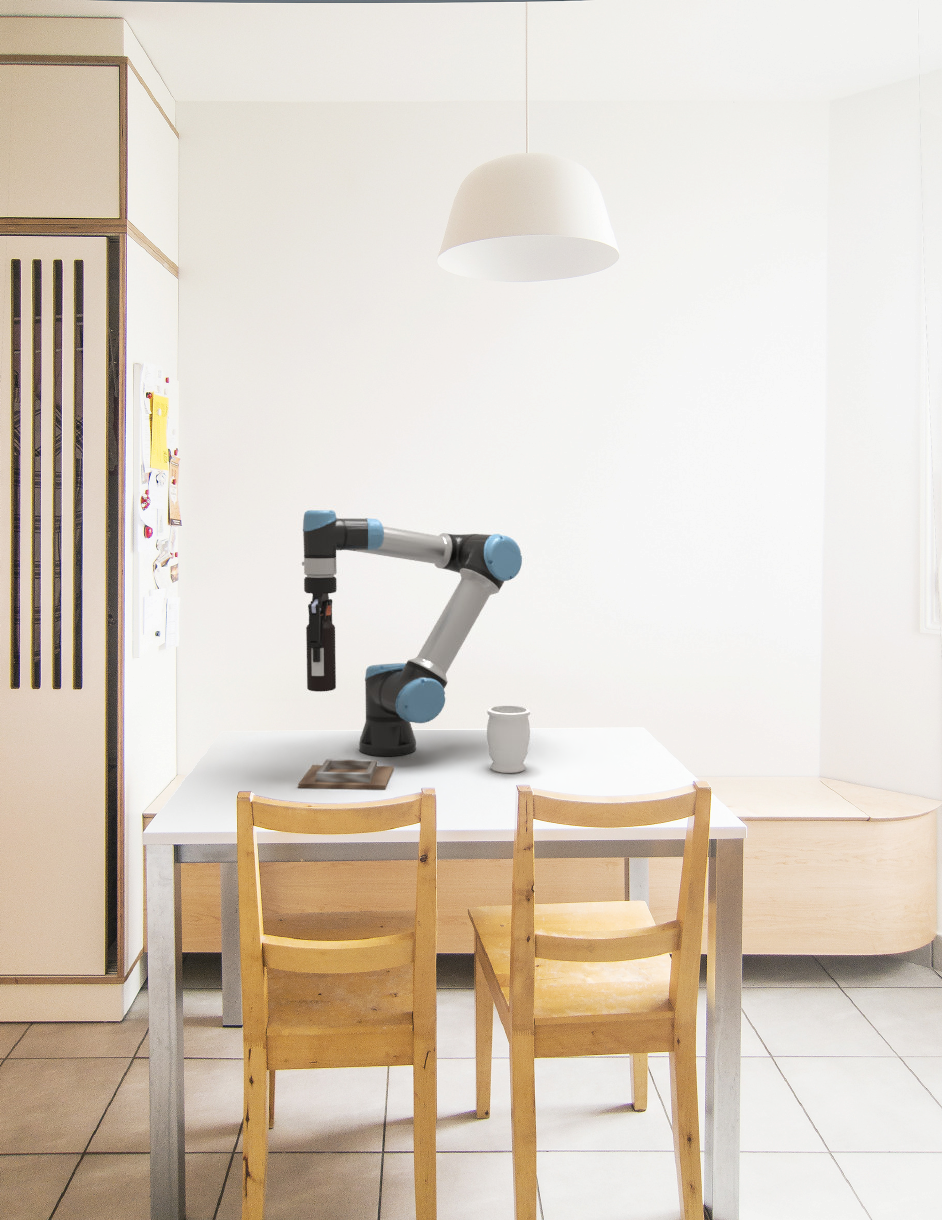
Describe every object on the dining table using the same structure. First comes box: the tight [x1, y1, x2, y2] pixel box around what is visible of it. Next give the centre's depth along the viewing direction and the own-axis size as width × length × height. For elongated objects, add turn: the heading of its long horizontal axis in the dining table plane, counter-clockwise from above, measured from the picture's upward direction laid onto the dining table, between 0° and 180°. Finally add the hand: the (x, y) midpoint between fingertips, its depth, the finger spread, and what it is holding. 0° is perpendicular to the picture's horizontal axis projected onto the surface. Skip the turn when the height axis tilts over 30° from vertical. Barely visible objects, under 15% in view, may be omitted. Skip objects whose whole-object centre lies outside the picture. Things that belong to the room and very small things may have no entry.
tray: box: [297, 758, 395, 791], centre depth 218 cm, size 20×16×3 cm
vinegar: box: [305, 605, 337, 692], centre depth 219 cm, size 7×7×20 cm
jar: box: [486, 705, 531, 774], centre depth 227 cm, size 11×10×15 cm
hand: (321, 672), depth 219 cm, fingers closed on vinegar, 6 cm apart
